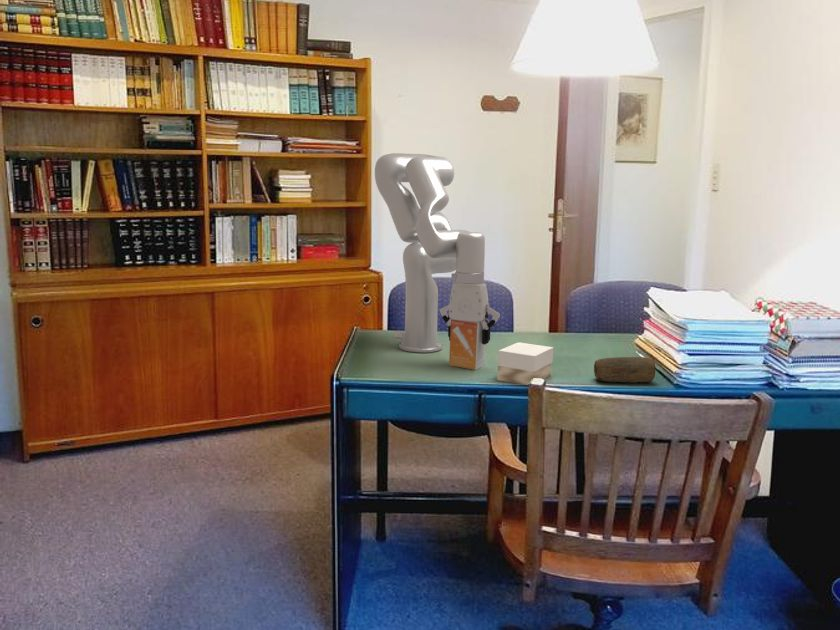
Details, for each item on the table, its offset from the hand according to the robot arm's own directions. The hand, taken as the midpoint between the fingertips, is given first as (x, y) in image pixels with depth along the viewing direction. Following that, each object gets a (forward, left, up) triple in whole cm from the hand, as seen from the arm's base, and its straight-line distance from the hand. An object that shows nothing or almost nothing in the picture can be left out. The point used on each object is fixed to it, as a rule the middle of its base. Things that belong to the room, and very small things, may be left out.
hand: (468, 341), depth 209 cm
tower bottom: (+17, -3, -7) cm, 19 cm away
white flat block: (+17, -3, -3) cm, 18 cm away
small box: (0, 0, -7) cm, 7 cm away
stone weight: (+40, +8, -7) cm, 42 cm away
